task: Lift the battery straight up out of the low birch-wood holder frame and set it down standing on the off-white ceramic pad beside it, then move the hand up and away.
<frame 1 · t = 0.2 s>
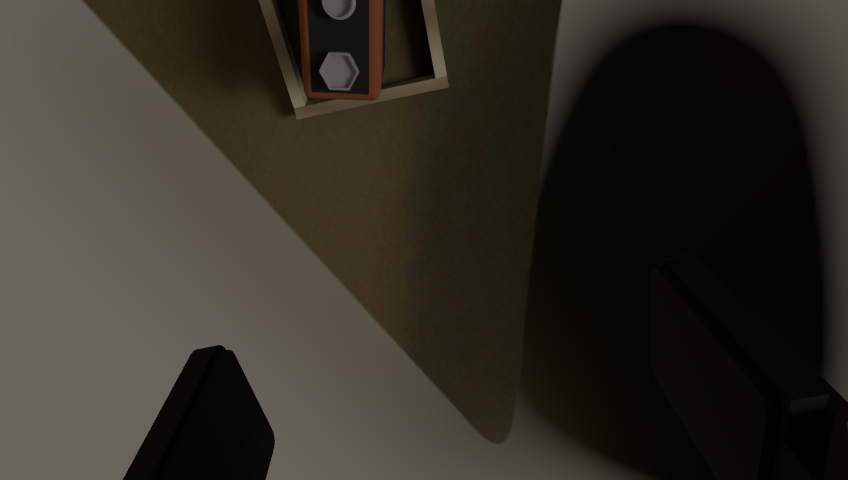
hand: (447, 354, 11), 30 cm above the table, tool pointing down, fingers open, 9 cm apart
battery: (353, 18, 36), resting in holder frame
holder frame: (353, 18, 35), on the table
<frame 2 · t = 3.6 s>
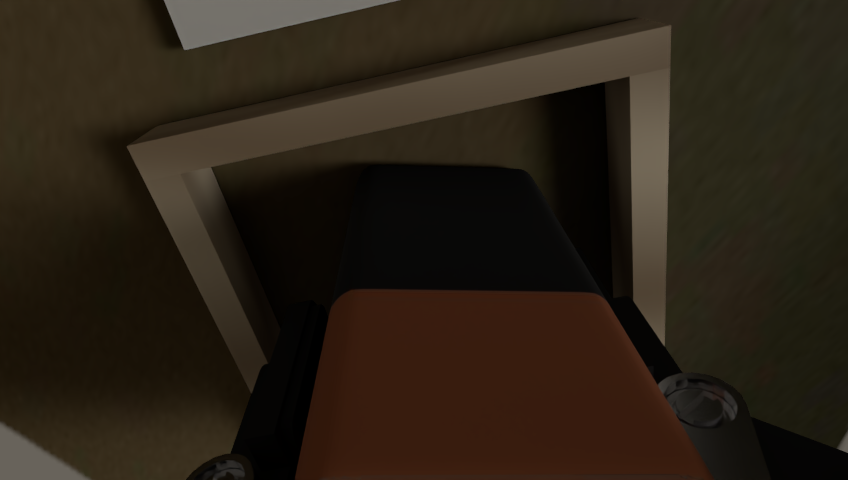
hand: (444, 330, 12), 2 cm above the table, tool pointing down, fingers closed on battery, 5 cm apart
battery: (438, 274, 14), resting in holder frame, touching gripper
holder frame: (438, 277, 14), on the table
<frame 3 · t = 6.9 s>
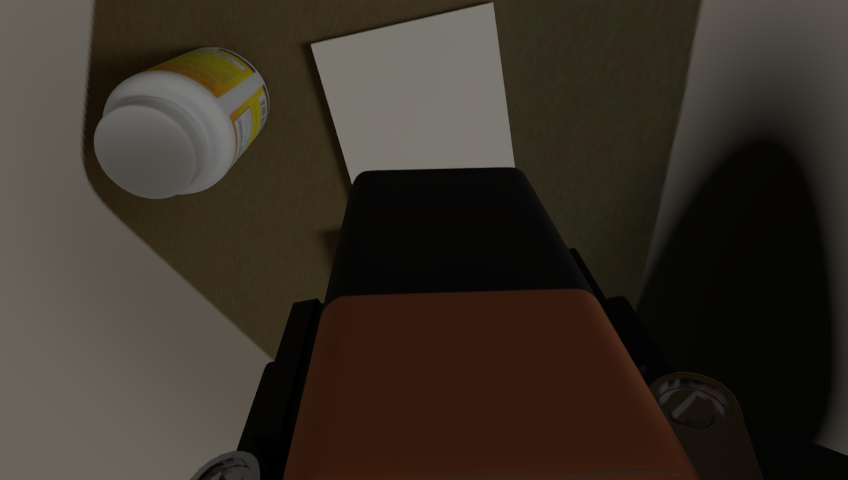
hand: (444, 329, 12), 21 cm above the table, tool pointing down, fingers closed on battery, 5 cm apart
battery: (438, 275, 14), point 18 cm above the table, touching gripper
ceramic pad: (419, 112, 30), on the table
supplement bottle: (224, 95, 30), on the table
when the fingers open (4 cm above the table, at t = 10.6 s): battery drops 1 cm, resting on ceramic pad.
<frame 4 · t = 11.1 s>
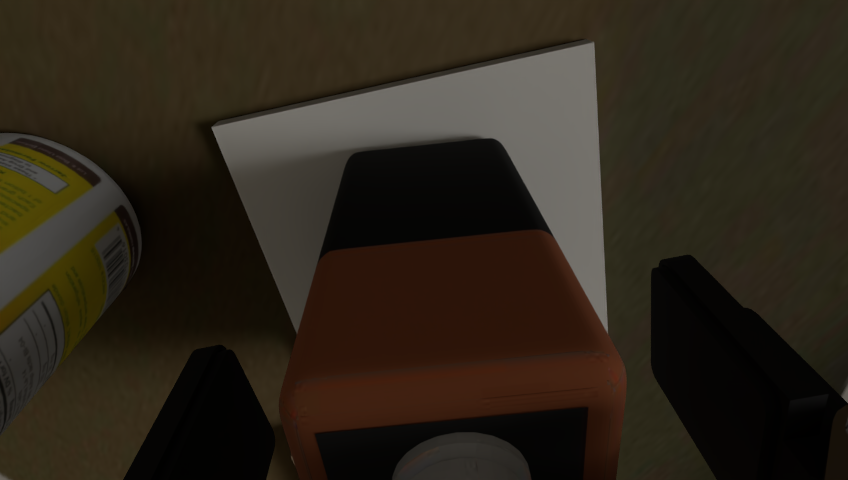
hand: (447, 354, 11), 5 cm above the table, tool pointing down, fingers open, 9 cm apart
battery: (433, 246, 16), resting on ceramic pad
ceramic pad: (434, 242, 16), on the table
supplement bottle: (56, 216, 15), on the table
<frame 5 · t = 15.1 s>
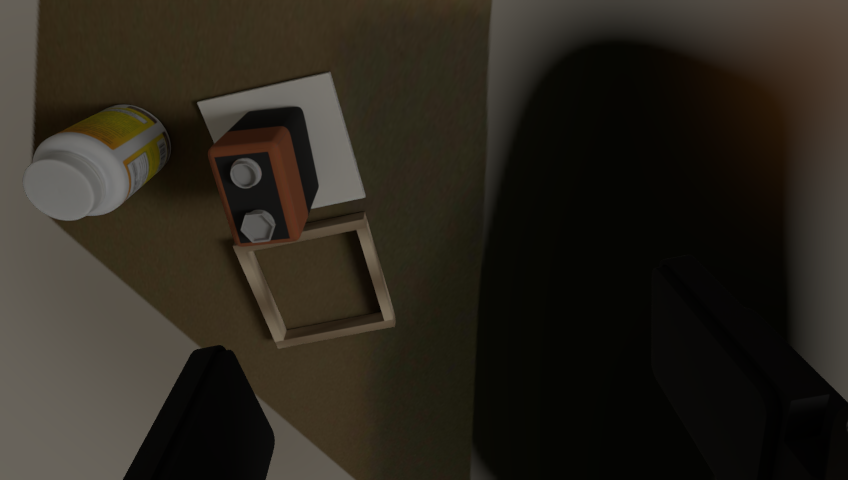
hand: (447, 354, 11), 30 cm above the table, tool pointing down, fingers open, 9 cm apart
battery: (285, 150, 40), resting on ceramic pad
holder frame: (320, 278, 46), on the table
ceramic pad: (286, 149, 40), on the table
supplement bottle: (137, 138, 40), on the table
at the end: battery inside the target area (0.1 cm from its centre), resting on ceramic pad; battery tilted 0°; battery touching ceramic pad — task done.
